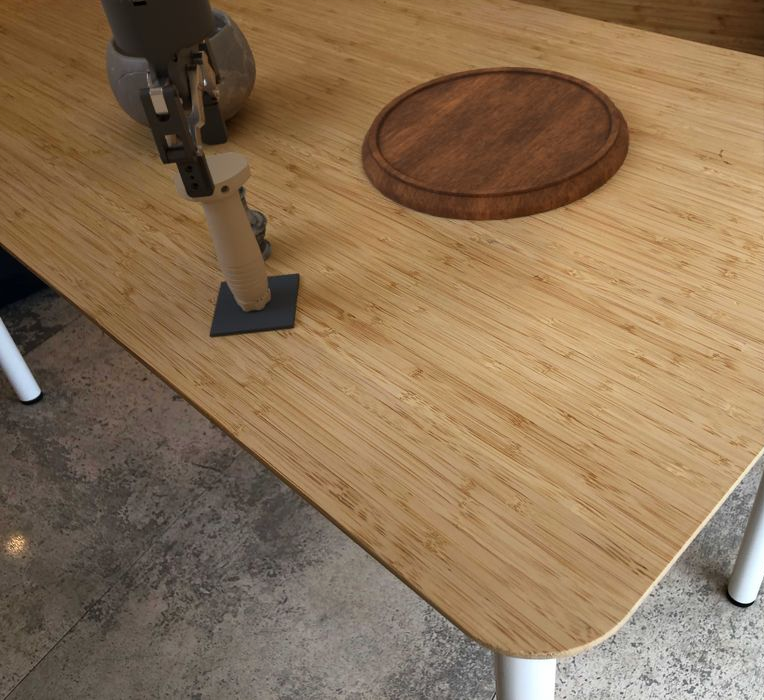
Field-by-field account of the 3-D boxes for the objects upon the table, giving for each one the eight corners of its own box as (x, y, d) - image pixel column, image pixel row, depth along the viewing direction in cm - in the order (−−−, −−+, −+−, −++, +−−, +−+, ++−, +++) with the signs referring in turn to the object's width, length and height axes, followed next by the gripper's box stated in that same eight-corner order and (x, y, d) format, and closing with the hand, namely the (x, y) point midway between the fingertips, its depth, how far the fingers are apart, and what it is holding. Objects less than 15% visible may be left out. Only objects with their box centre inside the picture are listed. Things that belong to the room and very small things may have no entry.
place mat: (210, 337, 81) (209, 334, 80) (222, 284, 87) (221, 281, 86) (293, 328, 81) (293, 324, 80) (299, 275, 86) (299, 272, 86)
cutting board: (674, 111, 104) (675, 92, 102) (540, 252, 86) (540, 231, 84) (460, 63, 119) (458, 46, 117) (307, 175, 101) (303, 156, 99)
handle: (295, 300, 83) (256, 167, 73) (236, 330, 81) (187, 196, 70) (273, 277, 86) (232, 146, 76) (215, 305, 84) (165, 173, 73)
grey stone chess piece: (281, 236, 92) (253, 137, 84) (264, 271, 88) (233, 170, 79) (230, 236, 93) (197, 137, 84) (211, 269, 89) (174, 169, 80)
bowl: (293, 100, 115) (270, 6, 106) (208, 167, 104) (174, 69, 95) (193, 82, 122) (164, -8, 113) (103, 143, 111) (63, 49, 102)
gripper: (118, -54, 67) (181, 131, 78) (69, 17, 57) (150, 219, 68) (212, -64, 67) (262, 123, 78) (181, 5, 57) (243, 209, 68)
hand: (210, 167), depth 73 cm, fingers open, 8 cm apart
